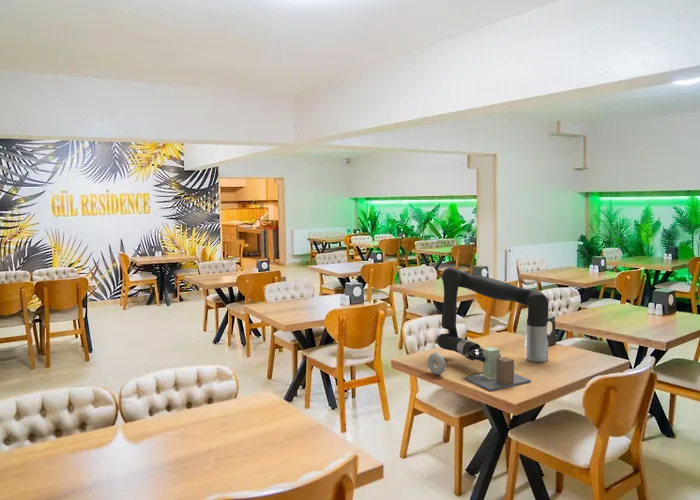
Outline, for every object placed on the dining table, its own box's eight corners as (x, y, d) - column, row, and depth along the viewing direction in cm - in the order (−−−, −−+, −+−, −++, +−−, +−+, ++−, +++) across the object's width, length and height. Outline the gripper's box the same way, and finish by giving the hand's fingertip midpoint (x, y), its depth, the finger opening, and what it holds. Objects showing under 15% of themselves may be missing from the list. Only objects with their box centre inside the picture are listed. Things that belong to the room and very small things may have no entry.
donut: (447, 376, 238) (447, 354, 237) (441, 378, 236) (441, 356, 235) (431, 370, 246) (431, 349, 245) (426, 372, 244) (426, 351, 243)
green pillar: (491, 372, 238) (491, 346, 237) (499, 376, 234) (499, 349, 232) (482, 374, 236) (482, 348, 235) (490, 378, 232) (490, 351, 230)
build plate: (503, 370, 244) (503, 347, 243) (530, 382, 228) (531, 357, 227) (464, 379, 234) (464, 354, 233) (490, 391, 219) (490, 365, 218)
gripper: (456, 343, 244) (479, 352, 230) (481, 339, 251) (504, 347, 236) (456, 359, 245) (479, 369, 231) (480, 354, 251) (504, 364, 237)
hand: (492, 358), depth 233 cm, fingers open, 8 cm apart
